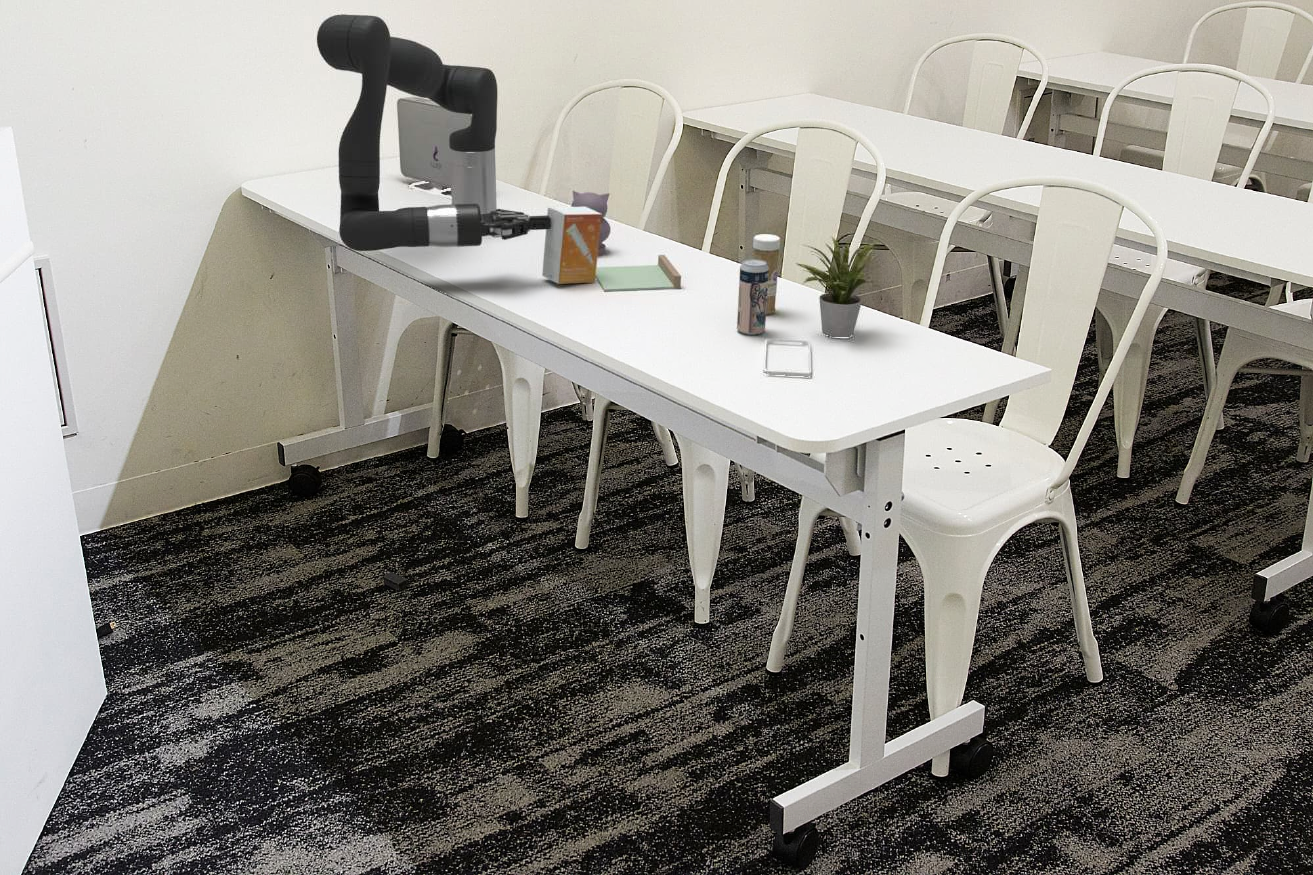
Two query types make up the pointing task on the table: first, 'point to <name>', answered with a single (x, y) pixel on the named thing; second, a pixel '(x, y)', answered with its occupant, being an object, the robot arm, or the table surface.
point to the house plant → (840, 290)
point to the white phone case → (787, 373)
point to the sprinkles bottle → (768, 264)
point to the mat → (639, 277)
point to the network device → (427, 139)
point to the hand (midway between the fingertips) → (550, 222)
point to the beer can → (752, 296)
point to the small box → (571, 245)
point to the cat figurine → (598, 205)
